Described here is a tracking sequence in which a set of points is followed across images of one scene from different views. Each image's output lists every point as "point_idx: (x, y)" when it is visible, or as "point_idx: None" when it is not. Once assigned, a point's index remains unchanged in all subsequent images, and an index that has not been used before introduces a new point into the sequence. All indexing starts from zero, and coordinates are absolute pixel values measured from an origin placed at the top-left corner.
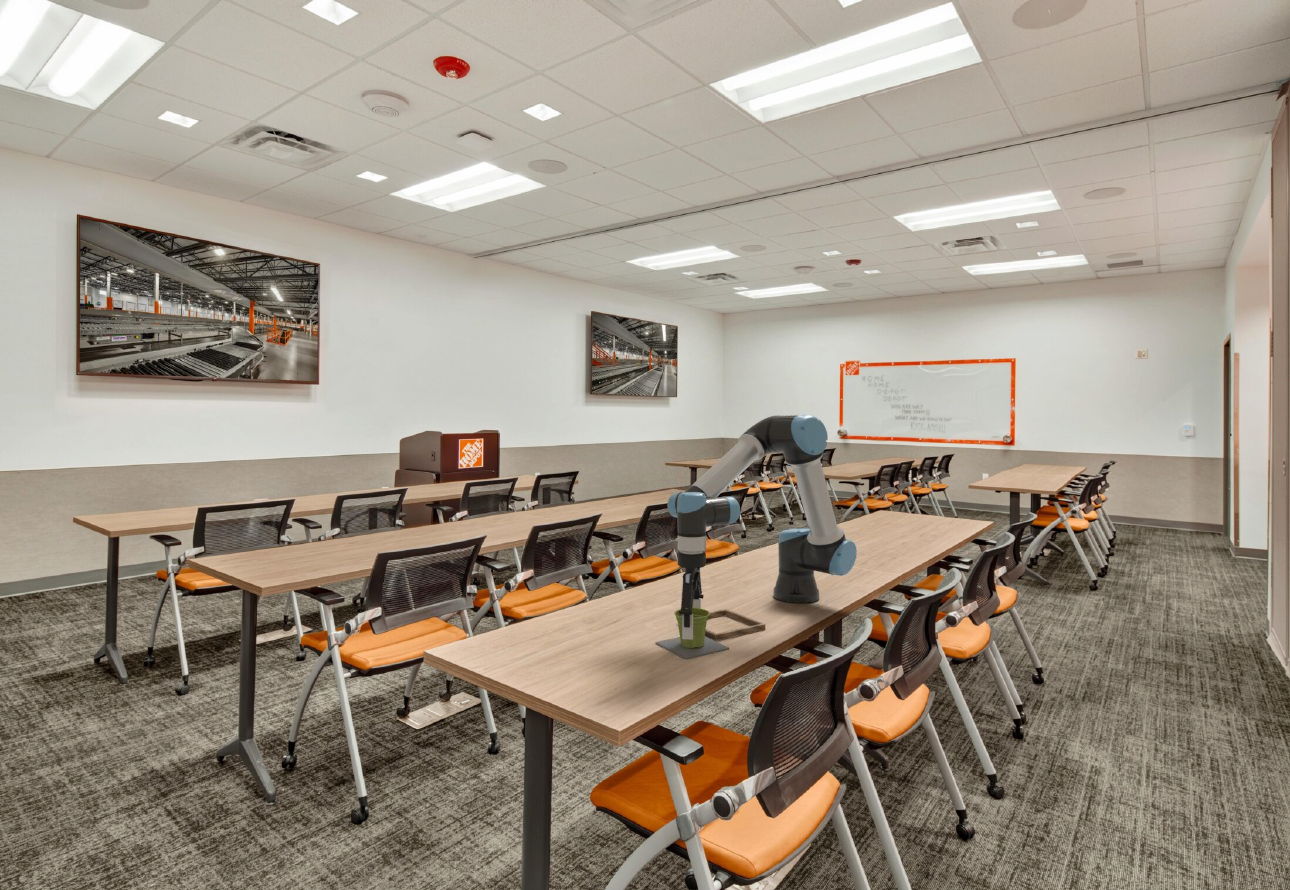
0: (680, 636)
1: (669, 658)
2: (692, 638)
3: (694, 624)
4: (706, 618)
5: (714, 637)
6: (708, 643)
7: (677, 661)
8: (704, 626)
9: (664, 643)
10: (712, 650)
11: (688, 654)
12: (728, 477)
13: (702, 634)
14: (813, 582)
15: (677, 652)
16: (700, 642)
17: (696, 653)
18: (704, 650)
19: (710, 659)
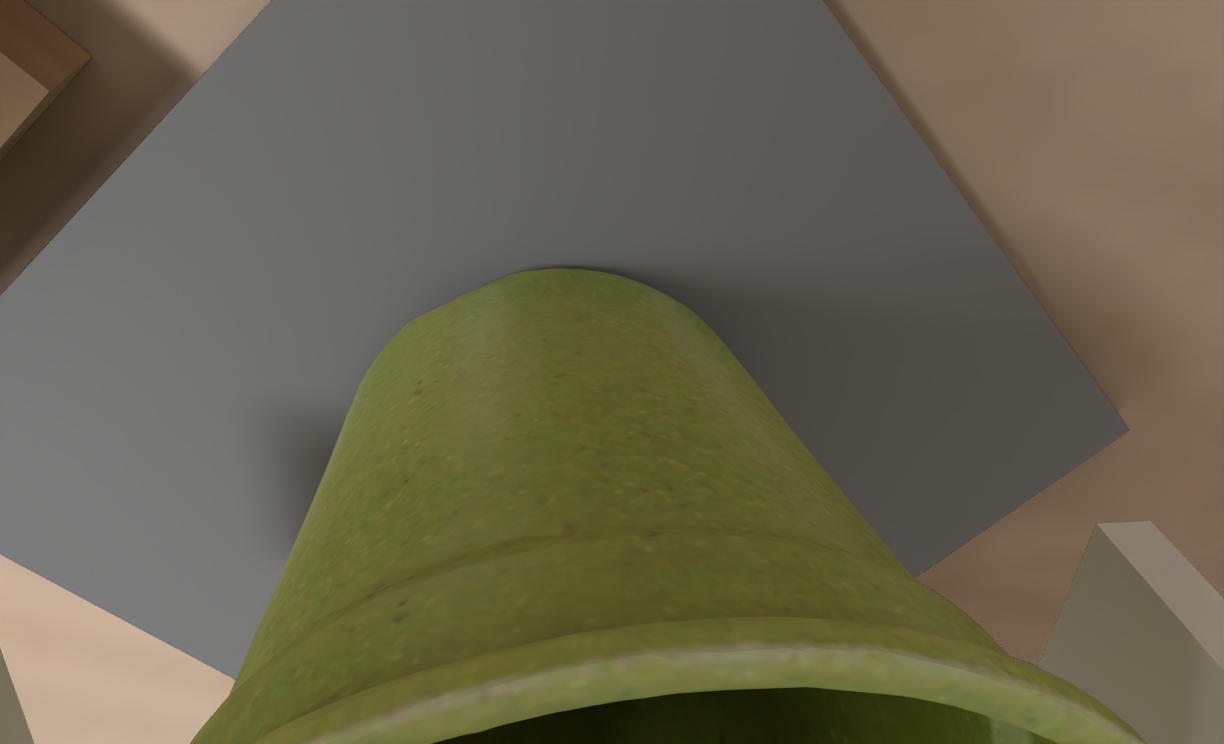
0: (674, 696)
1: (1044, 591)
2: (1164, 539)
3: (1011, 731)
4: (866, 609)
5: (42, 106)
6: (410, 190)
7: (1158, 493)
8: (768, 480)
9: None
10: (803, 67)
11: (991, 419)
12: None
13: (746, 401)
14: None
15: (903, 559)
16: (722, 347)
17: (952, 319)
18: (804, 214)
19: (1154, 58)
